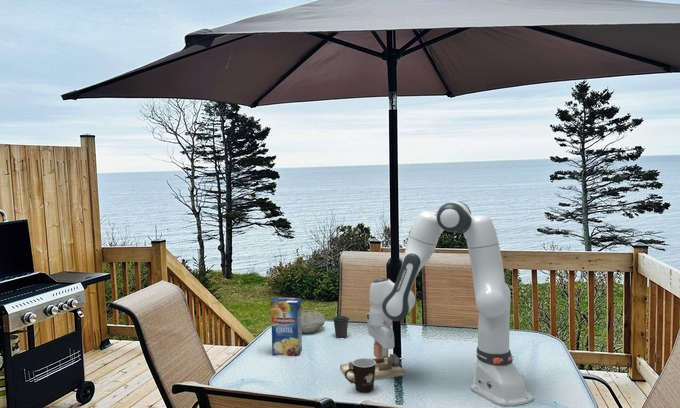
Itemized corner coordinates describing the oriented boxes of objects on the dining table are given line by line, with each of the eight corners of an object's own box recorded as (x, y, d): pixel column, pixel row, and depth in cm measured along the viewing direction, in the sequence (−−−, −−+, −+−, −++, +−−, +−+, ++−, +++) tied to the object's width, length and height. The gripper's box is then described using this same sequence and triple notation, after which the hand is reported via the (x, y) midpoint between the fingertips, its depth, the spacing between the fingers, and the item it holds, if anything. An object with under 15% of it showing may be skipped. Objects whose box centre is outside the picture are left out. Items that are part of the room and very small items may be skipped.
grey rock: (287, 327, 255) (287, 308, 254) (320, 323, 260) (319, 305, 259) (294, 337, 238) (294, 317, 237) (329, 333, 243) (329, 313, 242)
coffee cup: (330, 335, 239) (329, 316, 239) (345, 333, 243) (344, 313, 242) (337, 340, 232) (336, 320, 231) (352, 338, 235) (352, 317, 235)
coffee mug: (374, 383, 183) (374, 357, 183) (377, 393, 175) (377, 366, 174) (344, 384, 183) (343, 358, 182) (345, 394, 174) (344, 367, 174)
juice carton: (272, 355, 215) (270, 301, 213) (276, 349, 222) (275, 297, 221) (298, 356, 213) (297, 302, 211) (302, 350, 220) (301, 298, 219)
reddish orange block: (388, 357, 193) (388, 345, 193) (377, 359, 192) (377, 346, 192) (384, 353, 198) (384, 341, 197) (373, 355, 196) (373, 343, 196)
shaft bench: (404, 375, 190) (403, 362, 190) (350, 383, 184) (350, 369, 184) (390, 362, 204) (390, 349, 203) (340, 369, 197) (340, 356, 197)
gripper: (398, 325, 185) (398, 361, 186) (378, 311, 204) (379, 343, 205) (383, 327, 183) (383, 363, 184) (364, 312, 203) (365, 345, 203)
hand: (380, 352), depth 195 cm, fingers closed on reddish orange block, 4 cm apart
